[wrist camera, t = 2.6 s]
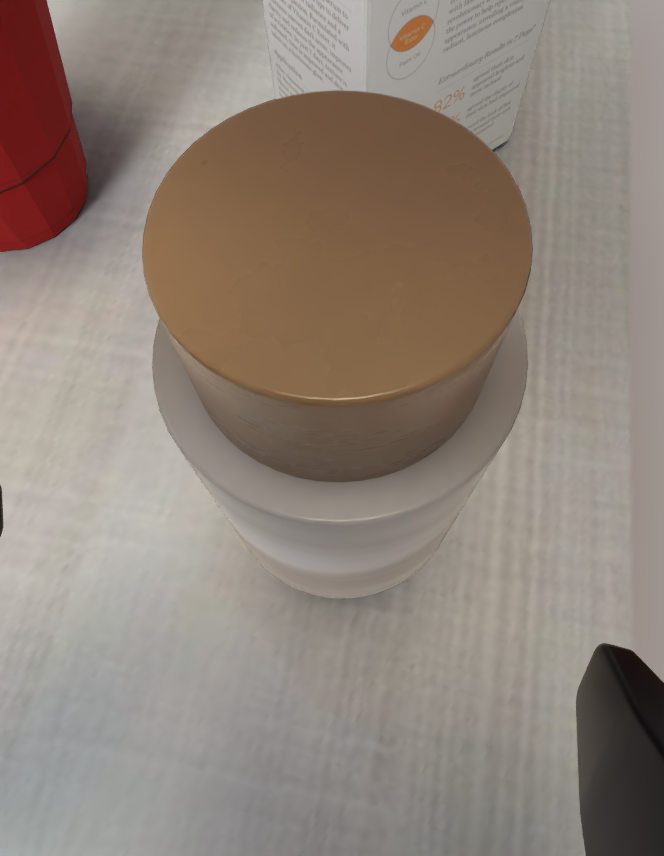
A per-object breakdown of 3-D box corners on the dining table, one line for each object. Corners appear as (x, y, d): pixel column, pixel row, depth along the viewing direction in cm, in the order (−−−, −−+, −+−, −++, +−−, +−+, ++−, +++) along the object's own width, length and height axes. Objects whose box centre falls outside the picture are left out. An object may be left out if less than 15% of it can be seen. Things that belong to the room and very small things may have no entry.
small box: (425, 68, 28) (467, -265, 18) (513, 143, 26) (611, -183, 16) (276, 152, 26) (234, -166, 16) (359, 239, 24) (366, -62, 15)
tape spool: (410, 641, 19) (555, 526, 6) (231, 591, 19) (-3, 387, 6) (447, 467, 21) (614, 94, 8) (284, 428, 21) (187, 24, 8)
